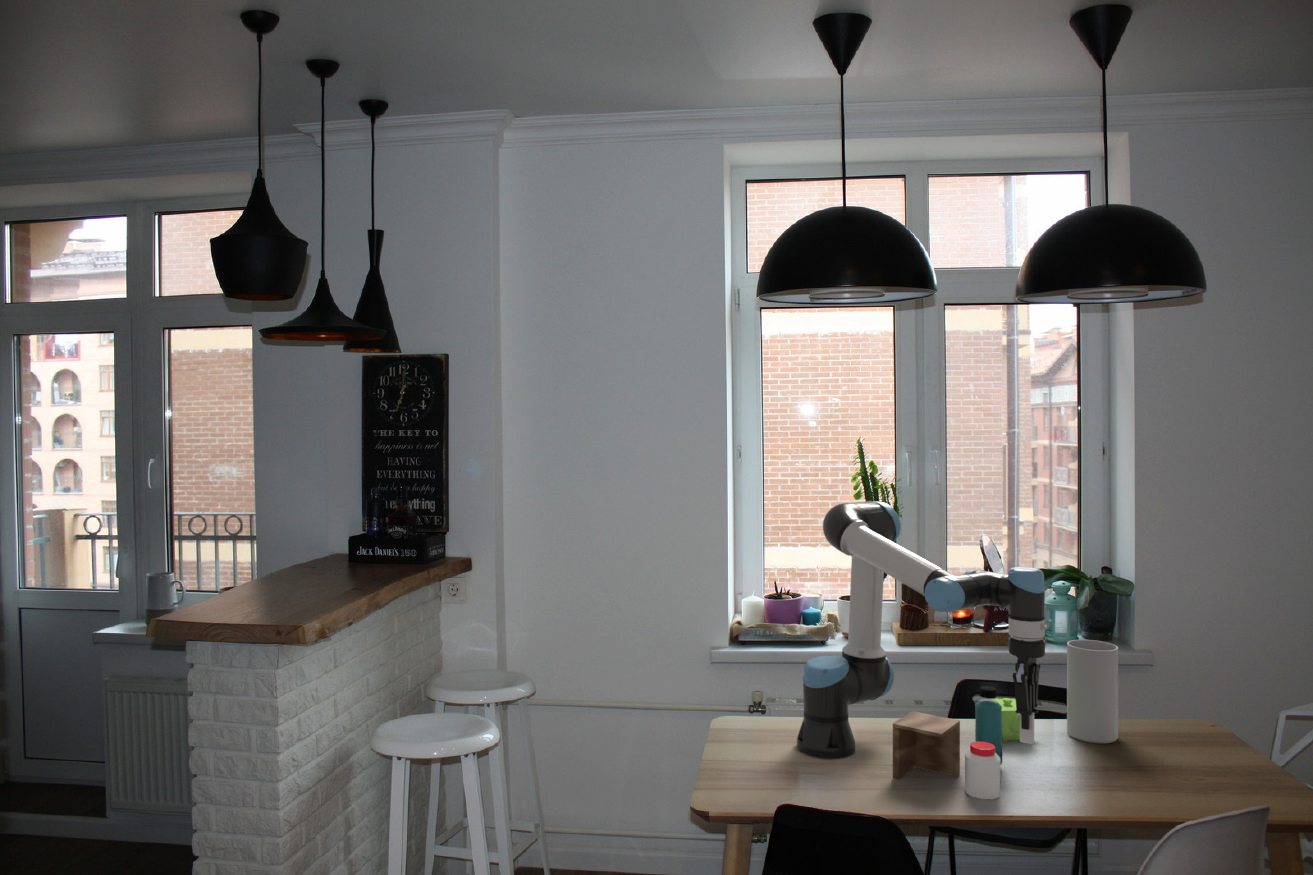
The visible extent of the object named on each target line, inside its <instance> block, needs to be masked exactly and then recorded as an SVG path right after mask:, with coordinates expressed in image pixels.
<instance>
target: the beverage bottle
mask: <svg viewBox="0 0 1313 875" xmlns="http://www.w3.org/2000/svg"><path fill="white" fill-rule="evenodd" d="M997 691H998V690H997V688H996V687H994V686H989V685H987V686H986V685H983V686H980V687H979V693H978V694H979V697H981V699H979V700H978V701H976V702H975V704H974V707H975V713H974V714H975V719H974V720H975V721H974V722H975V725H974V726H975V730H974V731H975V732H974V733H975V734H974V739H975V742H976V741H982V742H988V743H991V744H993V745H994V746H995V753H996V754H997V755H998V756H999V757H1000V759H1001V765H1002V764H1003V759H1004V758H1003V755H1004V754H1003V748H1004V747H1003V743H1004V742H1003V741H1002V740H1003V739H1002V737H1003V736H1002V735H1003V734H1002V706H1001V705H1000V704H999V703H998V702H997V701H995V700H991V699H993V698H997V697H998V693H997Z"/></svg>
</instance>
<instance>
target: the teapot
mask: <svg viewBox="0 0 1313 875" xmlns="http://www.w3.org/2000/svg"><path fill="white" fill-rule="evenodd" d="M990 699H991V700H995V701H997V702H998V703H999V704H1000V705H1001V706H1002V734H1003V735H1002V736H1003V737H1002V739H1003V740H1002V741H1003V743H1007V741H1008V742H1009V741H1016V742H1020V714H1019V713H1016V712H1015V711H1016V698H1009V697H1004V698H998V696H997V698H990ZM1033 714H1034V715H1035V714H1036V713H1033ZM1020 743H1021V742H1020Z"/></svg>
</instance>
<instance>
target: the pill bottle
mask: <svg viewBox="0 0 1313 875" xmlns="http://www.w3.org/2000/svg"><path fill="white" fill-rule="evenodd" d="M964 754H965V755H964V792H965V793H966V794H967V795H968V796H970V797H973V798H975V797H977V798H976V799H979V798H980V800H987V799H990V800H995V799H998V797H999V798H1000V797H1001V783H1002V782H1001V779H1002V778H1001V776H1002V775H1001V773H1002V772H1001V771H1002V770H1001V768H1002V767H1001V766H1002V764H1001V759H1000V757H999V756H998V755H997V754H996V753H995V746H994V745H993V744H991V743H988V742H982V741H976V740H975V741H972V742H970V745H969V750H968V751H966V753H964Z"/></svg>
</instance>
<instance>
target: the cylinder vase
mask: <svg viewBox="0 0 1313 875" xmlns="http://www.w3.org/2000/svg"><path fill="white" fill-rule="evenodd" d="M1066 685H1067V686H1066V732H1067V734H1068V735H1069V736H1070V737H1072V738H1073V739H1076V740H1078V741H1081V742H1086V743H1091V744H1111V743H1115V742H1116V741H1117V740H1118V738H1119V646H1117V645H1115V644H1113V643H1110V642H1107V641H1101V640H1094V639H1073V640H1068V641H1067V643H1066Z"/></svg>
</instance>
